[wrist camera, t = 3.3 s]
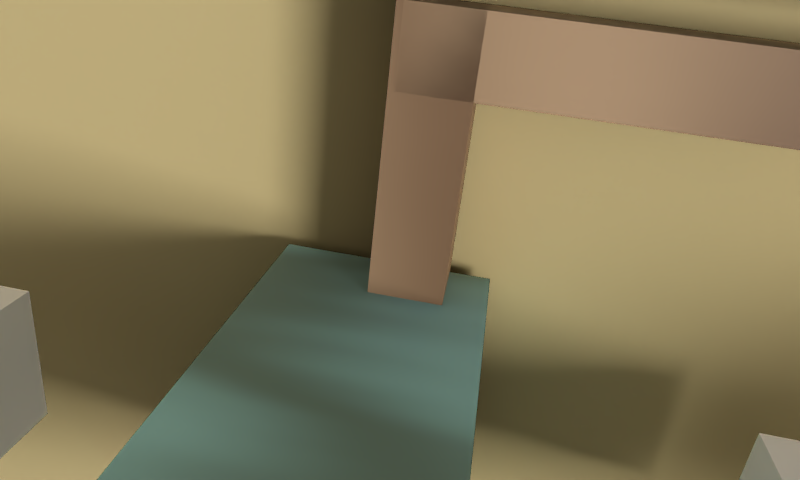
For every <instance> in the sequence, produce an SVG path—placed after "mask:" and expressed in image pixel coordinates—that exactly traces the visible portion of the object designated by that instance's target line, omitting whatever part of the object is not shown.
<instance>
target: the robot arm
mask: <svg viewBox="0 0 800 480" xmlns="http://www.w3.org/2000/svg"><path fill="white" fill-rule="evenodd" d="M47 414H48V413H47V406H46V400H45V393H44V386H43V380H42V373H41V367H40V360H39V353H38V347H37V340H36V333H35V327H34V320H33V314H32V307H31V300H30V294H29V291H26V290H21V289H16V288H11V287H6V286H0V459H1V458H2V457H3V456H4V455H5V454H6V453H7V452H8V451H9V450H10V449H11V448H12V447H13V446H14V445H15V444H16V443H17V442H18V441H19V440H20V439H21V438H23V437H24V436H25V435H26V434H27V433H28V432H29V431H30V430H31V429H32V428H33V427H34V426H35V425H36V424H37V423H38V422H39V421H40V420H41V419H42V418H43V417H44V416H46V415H47ZM739 480H800V441H798V440H793V439H788V438H783V437H778V436H773V435H767V434H762V433H759V434H758V437H757V439H756V441H755V444H754V446H753V448H752V450H751V453H750V455H749V457H748V460H747V462H746V464H745V467H744V469H743V471H742V474H741V476H740V478H739Z"/></svg>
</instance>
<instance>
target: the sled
mask: <svg viewBox="0 0 800 480" xmlns="http://www.w3.org/2000/svg"><path fill="white" fill-rule="evenodd" d="M476 103H477V104H484V105H491V106H498V107H505V108H512V109H519V110H526V111H533V112H540V113H547V114H553V115H560V116H567V117H574V118H581V119H588V120H595V121H602V122H609V123H616V124H623V125H630V126H637V127H644V128H651V129H658V130H664V131H671V132H678V133H685V134H692V135H699V136H706V137H713V138H720V139H727V140H734V141H741V142H748V143H755V144H762V145H769V146H776V147H782V148H789V149H796V150H800V43H792V42H785V41H777V40H769V39H761V38H753V37H745V36H737V35H729V34H721V33H713V32H706V31H698V30H690V29H682V28H674V27H666V26H658V25H650V24H642V23H634V22H627V21H619V20H611V19H603V18H595V17H587V16H579V15H571V14H563V13H555V12H547V11H540V10H532V9H524V8H516V7H508V6H500V5H492V4H484V3H476V2H468V1H461V0H396V7H395V17H394V27H393V38H392V48H391V58H390V68H389V78H388V88H387V98H386V109H385V119H384V129H383V139H382V149H381V159H380V170H379V180H378V190H377V200H376V210H375V220H374V230H373V241H372V251H371V258H367V257H361V256H355V255H349V254H344V253H338V252H332V251H326V250H321V249H315V248H309V247H303V246H298V245H292V244H289V245H288V246H287V247H286V248H285V250H284V251H283V252H282V253H281V255H280V256H279V257H278V258H277V260H276V261H275V262H274V263H273V264H272V266H271V267H270V268H269V269H268V271H267V272H266V273H265V274H264V275H263V277H262V278H261V279H260V280H259V282H258V283H257V284H256V285H255V287H254V288H253V289H252V290H251V291H250V293H249V294H248V295H247V296H246V298H245V299H244V300H243V301H242V302H241V304H240V305H239V306H238V307H237V309H236V310H235V311H234V312H233V313H232V315H231V316H230V317H229V318H228V320H227V321H226V322H225V323H224V325H223V326H222V327H221V328H220V329H219V331H218V332H217V333H216V334H215V336H214V337H213V338H212V339H211V340H210V342H209V343H208V344H207V345H206V347H205V348H204V349H203V350H202V351H201V353H200V354H199V355H198V356H197V358H196V359H195V360H194V361H193V363H192V364H191V365H190V366H189V367H188V369H187V370H186V371H185V372H184V374H183V375H182V376H181V377H180V378H179V380H178V381H177V382H176V383H175V385H174V386H173V387H172V388H171V390H170V391H169V392H168V393H167V394H166V396H165V397H164V398H163V399H162V401H161V402H160V403H159V404H158V405H157V407H156V408H155V409H154V410H153V412H152V413H151V414H150V415H149V416H148V418H147V419H146V420H145V421H144V423H143V424H142V425H141V426H140V428H139V429H138V430H137V431H136V432H135V434H134V435H133V436H132V437H131V439H130V440H129V441H128V442H127V443H126V445H125V446H124V447H123V448H122V450H121V451H120V452H119V453H118V455H117V456H116V457H115V458H114V459H113V461H112V462H111V463H110V464H109V466H108V467H107V468H106V469H105V470H104V472H103V473H102V474H101V475H100V477H99V478H98V479H97V480H470V474H471V464H472V454H473V444H474V434H475V424H476V414H477V404H478V393H479V383H480V373H481V363H482V353H483V343H484V333H485V323H486V313H487V303H488V293H489V283H490V279H487V278H481V277H476V276H470V275H464V274H458V273H453V272H450V267H451V261H452V254H453V248H454V241H455V235H456V229H457V222H458V216H459V209H460V203H461V197H462V190H463V184H464V178H465V171H466V165H467V158H468V152H469V146H470V139H471V133H472V127H473V120H474V114H475V107H476Z"/></svg>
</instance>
